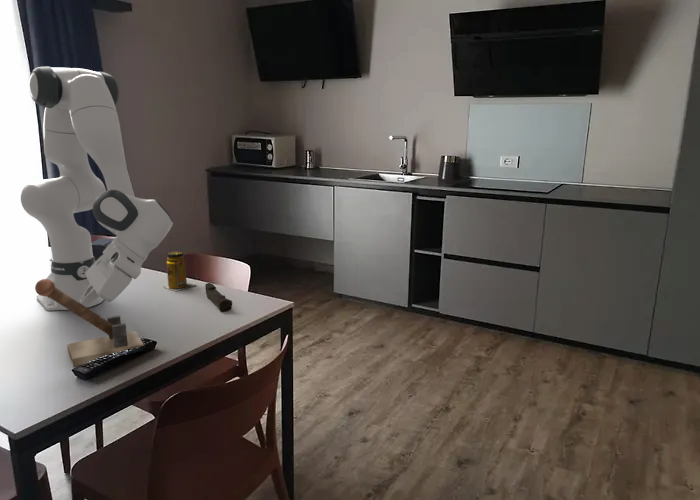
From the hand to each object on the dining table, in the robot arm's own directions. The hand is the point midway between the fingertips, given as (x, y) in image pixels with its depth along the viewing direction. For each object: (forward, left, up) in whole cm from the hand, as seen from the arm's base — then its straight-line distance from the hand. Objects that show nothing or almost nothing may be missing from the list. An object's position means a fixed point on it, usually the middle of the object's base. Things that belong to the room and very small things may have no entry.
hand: (82, 303), depth 132 cm
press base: (+1, +4, -13) cm, 14 cm away
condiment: (-30, +47, -14) cm, 57 cm away
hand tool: (-7, +44, -14) cm, 46 cm away
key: (-94, +34, -14) cm, 101 cm away
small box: (-72, +42, -14) cm, 84 cm away
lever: (+2, +7, -10) cm, 13 cm away
